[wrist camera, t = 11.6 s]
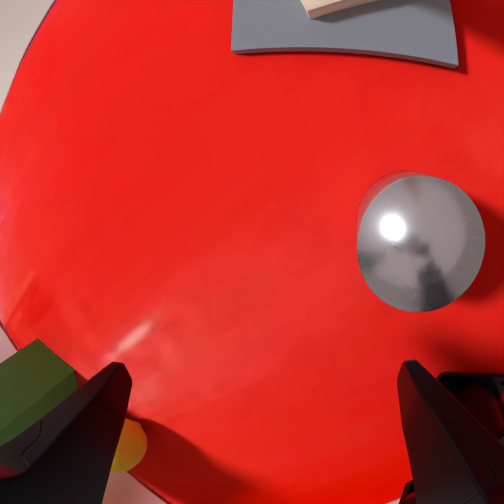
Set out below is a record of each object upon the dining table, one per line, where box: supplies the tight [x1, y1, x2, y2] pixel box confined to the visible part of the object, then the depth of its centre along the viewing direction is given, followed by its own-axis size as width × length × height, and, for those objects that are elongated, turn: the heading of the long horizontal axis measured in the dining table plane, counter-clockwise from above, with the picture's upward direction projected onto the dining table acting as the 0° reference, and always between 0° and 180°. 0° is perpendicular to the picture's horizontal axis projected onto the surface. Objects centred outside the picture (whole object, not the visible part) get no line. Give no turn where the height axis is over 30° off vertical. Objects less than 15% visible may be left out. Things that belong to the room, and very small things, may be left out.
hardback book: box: [0, 339, 77, 446], centre depth 25 cm, size 18×7×24 cm, turn 163°
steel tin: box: [357, 171, 485, 312], centre depth 14 cm, size 6×6×5 cm
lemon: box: [110, 418, 147, 473], centre depth 27 cm, size 6×6×8 cm
